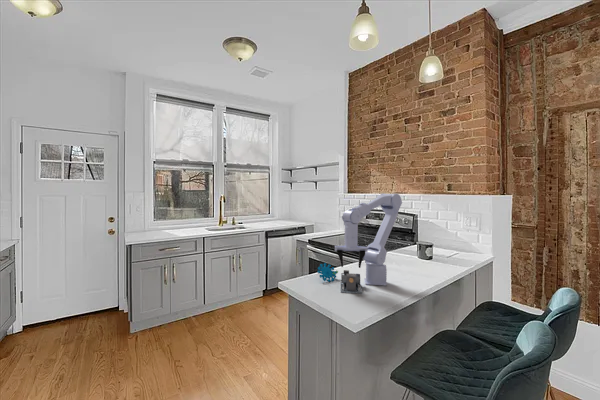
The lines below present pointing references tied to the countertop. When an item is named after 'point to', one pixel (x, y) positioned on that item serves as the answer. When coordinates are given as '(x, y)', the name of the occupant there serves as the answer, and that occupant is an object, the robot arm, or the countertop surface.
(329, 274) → the gear
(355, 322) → the countertop surface
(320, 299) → the countertop surface
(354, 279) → the grey knobbed block
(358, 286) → the motor mount
